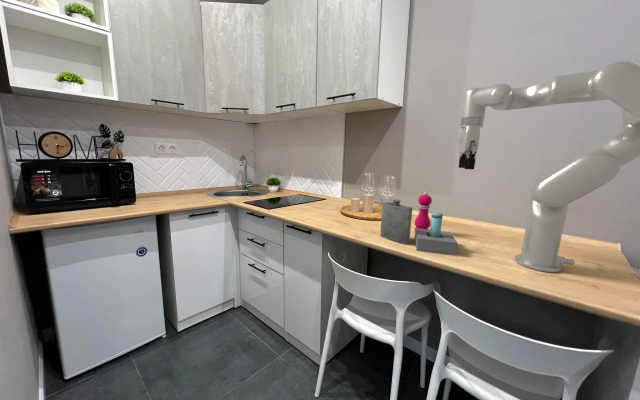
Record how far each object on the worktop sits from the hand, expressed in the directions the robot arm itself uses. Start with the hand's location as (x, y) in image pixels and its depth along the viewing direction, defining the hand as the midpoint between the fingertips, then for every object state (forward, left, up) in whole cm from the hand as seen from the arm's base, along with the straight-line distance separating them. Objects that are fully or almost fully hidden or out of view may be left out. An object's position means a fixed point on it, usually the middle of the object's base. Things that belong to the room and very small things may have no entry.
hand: (465, 168), depth 99 cm
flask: (+25, +1, -33) cm, 41 cm away
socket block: (+9, +4, -32) cm, 34 cm away
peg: (+9, +4, -32) cm, 34 cm away
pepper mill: (+12, -15, -32) cm, 38 cm away
